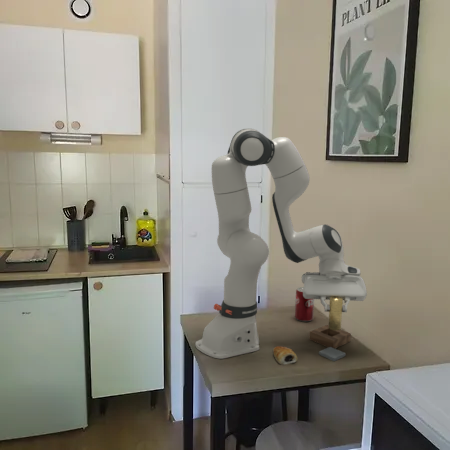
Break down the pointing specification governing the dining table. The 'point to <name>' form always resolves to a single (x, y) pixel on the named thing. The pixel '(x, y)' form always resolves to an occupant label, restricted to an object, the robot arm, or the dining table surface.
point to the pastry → (284, 355)
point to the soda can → (303, 307)
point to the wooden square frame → (330, 337)
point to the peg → (335, 313)
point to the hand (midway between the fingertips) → (335, 311)
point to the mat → (332, 353)
